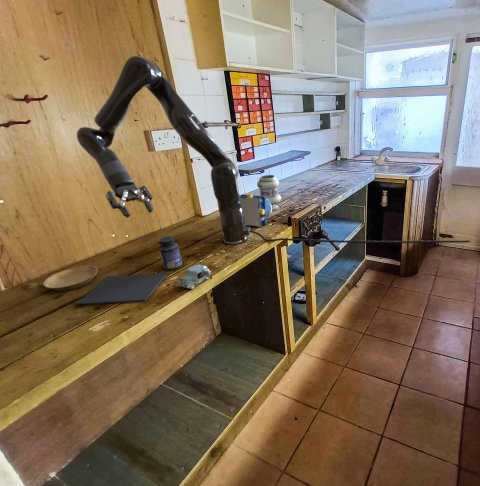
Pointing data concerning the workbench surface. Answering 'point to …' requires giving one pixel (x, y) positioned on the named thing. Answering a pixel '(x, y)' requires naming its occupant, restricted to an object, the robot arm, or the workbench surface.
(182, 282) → the toy car
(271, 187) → the apothecary jar
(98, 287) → the mat
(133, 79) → the robot arm
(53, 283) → the plant saucer
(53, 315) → the workbench surface
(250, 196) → the valve
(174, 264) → the pill bottle
